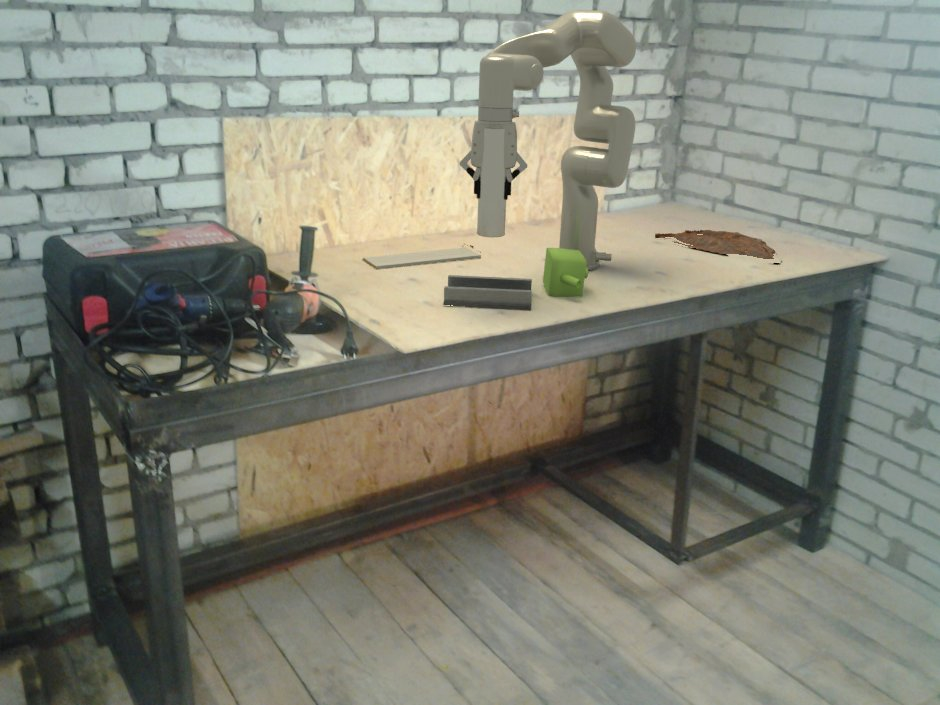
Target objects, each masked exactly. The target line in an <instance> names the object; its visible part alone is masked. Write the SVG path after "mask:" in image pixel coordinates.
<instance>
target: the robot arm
mask: <svg viewBox="0 0 940 705" xmlns="http://www.w3.org/2000/svg"><path fill="white" fill-rule="evenodd" d="M636 51H637V44H636V40H635V37H634V35H633V34H632V32H631V31H630V29H629V28H627V26H625V25H624V24H623V22H621V21H620V20H619V19H618V17H616V16H615V15H613V14H611V13H610V12H608V11H605V10H596V9H595V10H594V9H593V10H592V9H590V10H589V9H574V10H573V9H572V10H569V11H566V12H564V13H563V14H561V15H560V16H559V17H557V18H556V19H555V20H553V21H552V22H551V23H549V24H548V25H547V26H545V27H544V28H542V29H541V30H539V31H535V32H532V33H529V34H525V35H523V36H519V37H517V38H513V39H510V40H508V41H506V42H503V43H501V44H499V45H498V46H496V47H495V48H493V49H492V50H491V51H489V52H487V55H485V56H483V57H482V58H481V59H480V61H479V75H478V76H479V77H478V78H479V80H478V81H479V82H478V107H477V108H478V109H477V113H478V114H477V120H475V121H474V124H473V129H472V137H471V147H470V151H469V152H468V153H467V154H466V155H465V156H464V157H463V158H462V159H461V160H460V162H459V166H460V167H461V168H462V169H463V170H464V171H466V173H467V174H468V175H469V176H470V177H471V178H472V180H473V195H476V199H477V200H478V199H479V189H480V182H479V175H480V168H481V167H482V160H483V151H484V128H490V124H501V129H502V128H503V129H505V132H504V167H505V168H506V177H507V182H506V184H505V200H506V201H507V200H508V198H509V197H511V196H512V182H513V180H515V178H517V177H518V176H519V175H520V174H521V173H523V171H525V170H526V169H527V168H528V163H527V162H526V161H525V159H523V157H522V156H521V155H520V154H519V152H518V134H517V132H518V131H517V130H518V129H517V124H516V121H513V119H516V118H520V110H515V109H514V107H513V106H514V91H523V92H525V91H526V92H527V91H532V90H535V89H536V88H537V87H539V86H540V84H541V83H542V80H543V78H544V68H549V67H553V66H556V65H559V64H561V63H562V62H563V61H564V60H566V59H567V58H568V57H569V56H571V57H570V58H571V59H572V60H573V63H574V65H575V68H576V70H577V74H578V76H579V82H580V83H579V85H580V86H579V92H578V98H577V104H576V105H577V106H576V110H575V115H574V122H573V133H574V135H575V137H576V138H577V139H579V140H581V141H585V142H591V143H597V144H598V143H599V144H600V143H601V144H608V148H600V147H596V146H595V147H592V146H584V145H577V146H572V147H569V148H568V149H566V150H565V151H564V152H563V154H562V157H561V160H560V172H561V180H562V181H561V182H562V198H561V199H562V200H561V201H562V202H561V203H562V204H561V215H560V217H561V218H560V229H559V230H560V233H559V245H558V246H559V247H558V248H562V249H572V250H579V251H580V252H581V253H582V255H583V256H584V258H585V260H586V262H587V264H586V268H587V269H588V271H593V270H596V269H598V268H599V267H600V261H605V262H611V261H612V253H607V252H599V251H597V250H596V247H595V246H596V237H597V223H598V222H597V221H598V212H599V211H598V210H599V197H598V194H597V192H596V189H595V187H594V186H596V187H602V188H610V189H614V188H615V189H616V188H619V187H621V186H622V185H623V183H624V182H625V180H626V178H627V174H628V171H629V164H630V160H631V156H632V149H633V143H634V139H635V133H636V118H635V115H634V113H633V111H632V110H631V109H630V108H629V107H626V106H622V105H612V100H613V93H614V81H613V78H612V76H611V74H610V72H609V70H608V69H607V67H609V68H610V67H611V68H624V67H627V66H628V65H630V64H631V63H632V62H633V60H634V58H635V55H636ZM469 161H470V164H471V166H473V167H474V168H475V170H474V169H473V167H471V166H470V165H469V164H468V163H469ZM517 163H518V164H519V165H518V167H517V168H515V167H516V164H517ZM513 168H515V169H514V170H513V171H512V169H513Z"/></svg>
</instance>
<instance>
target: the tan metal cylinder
mask: <svg viewBox="0 0 940 705" xmlns="http://www.w3.org/2000/svg"><path fill="white" fill-rule="evenodd" d="M504 132H505V129H503V128H502V129H501V124H490V128H484V151H483V160H482V167H481V168H480V175H479V182H480V189H479V199H477V223H476V225H477V226H476V227H477V228H476V234H477V236H480V237H484V238H501V237H504V236H505V235H506V216H507V215H506V214H507V200H505V184H506V182H507V177H506V168H505V167H504Z"/></svg>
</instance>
